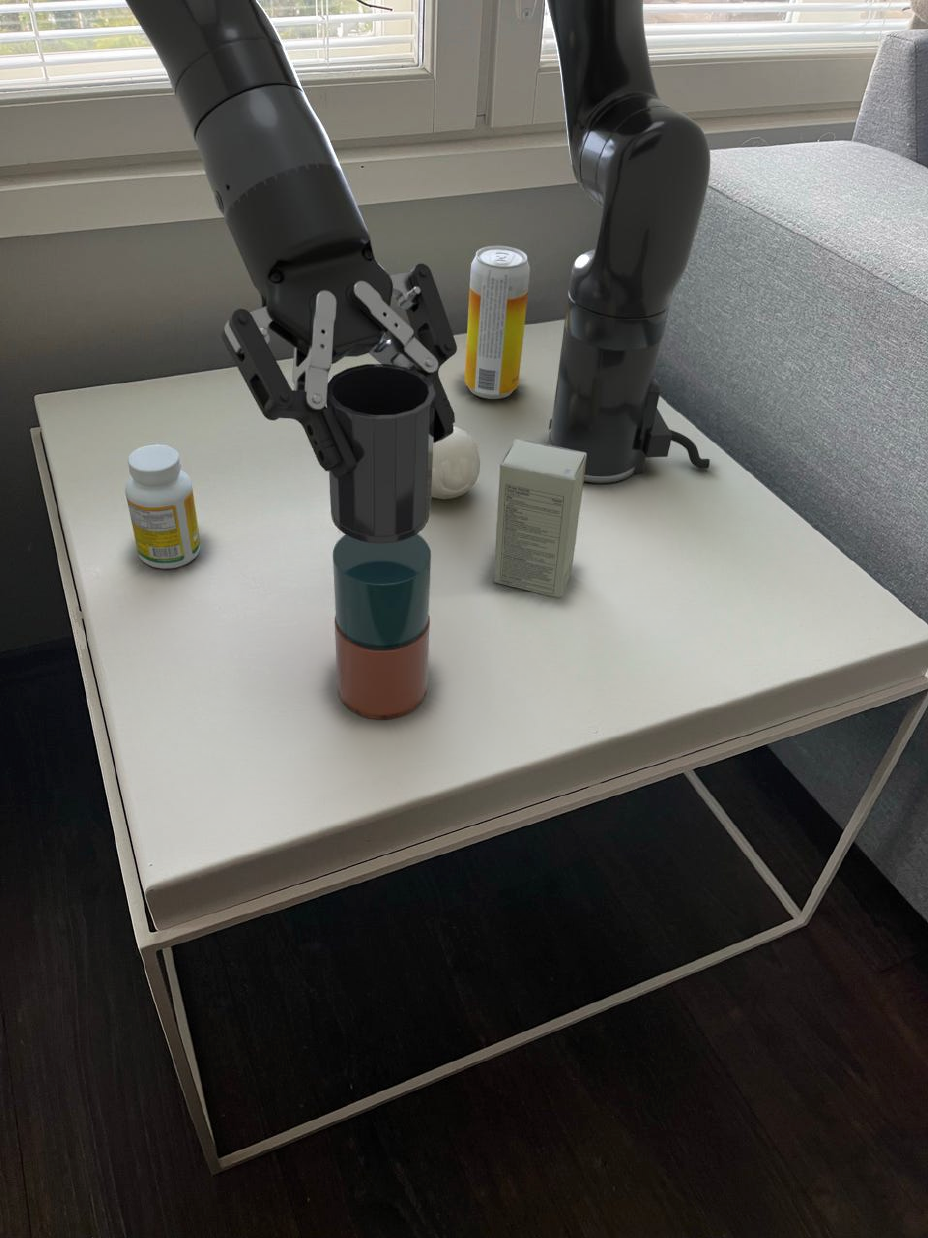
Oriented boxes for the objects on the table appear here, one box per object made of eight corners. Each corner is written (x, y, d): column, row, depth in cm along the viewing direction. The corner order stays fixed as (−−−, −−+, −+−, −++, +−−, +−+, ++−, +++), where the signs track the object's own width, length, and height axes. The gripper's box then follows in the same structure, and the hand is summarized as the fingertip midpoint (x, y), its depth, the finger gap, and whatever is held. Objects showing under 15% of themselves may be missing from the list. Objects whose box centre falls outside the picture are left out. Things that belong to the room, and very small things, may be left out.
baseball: (421, 520, 90) (423, 459, 86) (399, 477, 95) (400, 417, 91) (489, 509, 92) (494, 449, 87) (464, 467, 97) (468, 408, 92)
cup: (423, 483, 66) (427, 362, 60) (435, 541, 61) (441, 416, 55) (328, 487, 65) (323, 364, 59) (333, 546, 60) (328, 419, 54)
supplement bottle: (164, 578, 82) (145, 484, 76) (125, 551, 84) (104, 457, 78) (214, 550, 85) (200, 457, 79) (176, 524, 88) (159, 432, 81)
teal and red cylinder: (421, 652, 77) (426, 520, 68) (432, 716, 72) (438, 582, 63) (335, 658, 76) (329, 524, 67) (340, 723, 71) (333, 588, 62)
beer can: (519, 377, 111) (532, 246, 101) (516, 403, 107) (529, 270, 97) (466, 372, 111) (474, 241, 101) (461, 398, 107) (469, 264, 97)
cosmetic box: (572, 570, 86) (592, 452, 78) (560, 600, 83) (579, 480, 74) (503, 552, 87) (515, 434, 79) (488, 581, 84) (499, 462, 76)
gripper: (185, 180, 51) (316, 476, 52) (408, 140, 58) (519, 402, 59) (156, 247, 57) (273, 508, 58) (359, 204, 64) (460, 438, 66)
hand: (396, 454), depth 59 cm, fingers closed on cup, 6 cm apart
